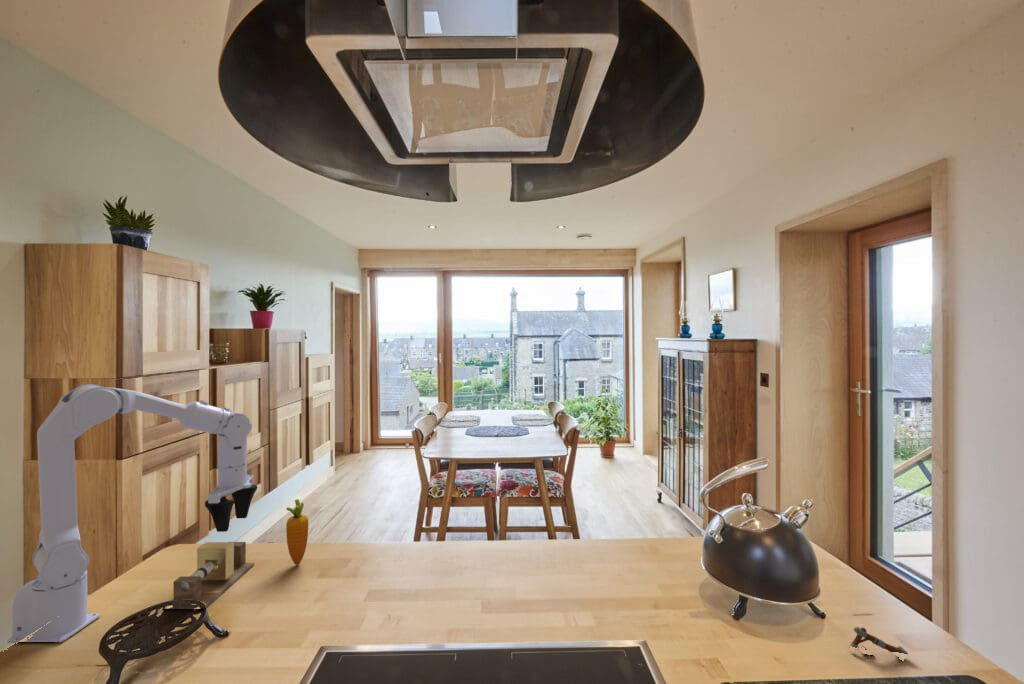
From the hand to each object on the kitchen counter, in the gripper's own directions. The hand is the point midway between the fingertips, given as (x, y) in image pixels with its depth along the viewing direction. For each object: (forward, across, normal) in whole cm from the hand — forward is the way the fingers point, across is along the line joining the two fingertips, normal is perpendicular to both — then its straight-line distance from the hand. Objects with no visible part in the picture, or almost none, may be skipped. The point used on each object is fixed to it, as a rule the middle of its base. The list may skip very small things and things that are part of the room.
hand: (232, 524), depth 106 cm
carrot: (+11, +2, -14) cm, 18 cm away
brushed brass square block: (+9, -6, 0) cm, 11 cm away
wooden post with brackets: (+11, -32, -124) cm, 129 cm away
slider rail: (+10, -7, 0) cm, 13 cm away
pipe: (+7, -7, 0) cm, 10 cm away
